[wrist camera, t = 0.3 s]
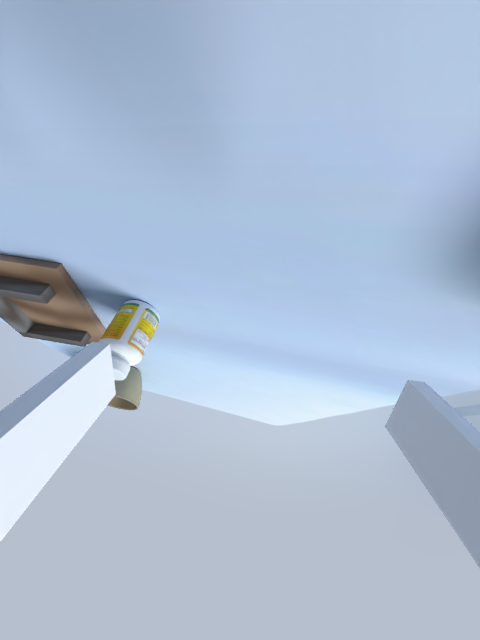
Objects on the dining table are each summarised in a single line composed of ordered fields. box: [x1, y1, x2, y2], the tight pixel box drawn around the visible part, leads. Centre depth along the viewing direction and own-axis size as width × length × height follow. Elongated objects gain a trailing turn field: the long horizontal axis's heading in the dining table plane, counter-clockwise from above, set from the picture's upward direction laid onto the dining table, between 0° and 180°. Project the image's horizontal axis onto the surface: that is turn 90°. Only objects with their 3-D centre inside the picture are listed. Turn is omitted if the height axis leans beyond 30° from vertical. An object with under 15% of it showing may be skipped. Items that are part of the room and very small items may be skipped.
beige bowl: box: [108, 366, 142, 410], centre depth 48 cm, size 10×10×7 cm
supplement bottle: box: [99, 300, 160, 380], centre depth 30 cm, size 5×5×10 cm
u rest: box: [0, 254, 106, 347], centre depth 34 cm, size 18×14×3 cm
